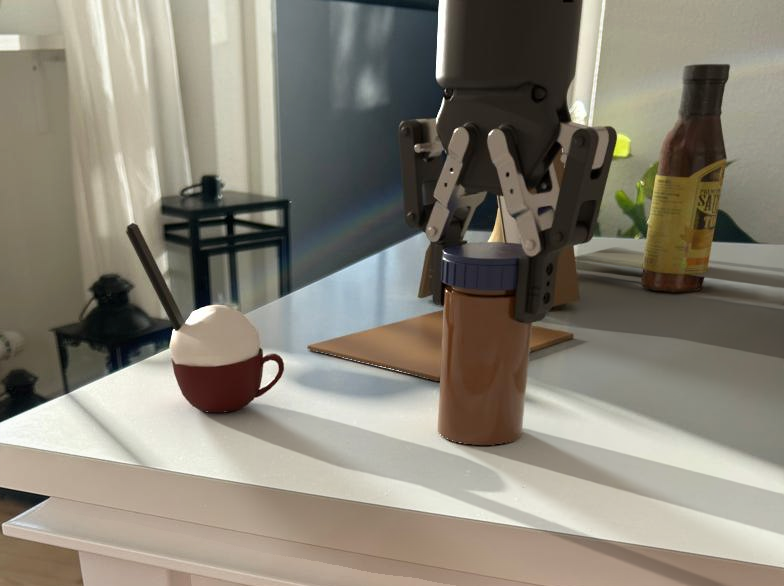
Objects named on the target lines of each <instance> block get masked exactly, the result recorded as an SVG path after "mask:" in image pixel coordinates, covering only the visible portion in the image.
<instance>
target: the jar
mask: <svg viewBox="0 0 784 586" xmlns="http://www.w3.org/2000/svg"><path fill="white" fill-rule="evenodd" d="M515 299H516V289H515V290H497V291H491V290H472V289H463V288H458V287H453V286H450V285H448V286H446V287H445V292H444V307H443V310H444V312H443V332H442V351H441V371H440V382H439V391H438V392H439V394H438V412H437V433H438V432H439V433H438V435H439V434H441V436H440V437H442V436H443V437H445V438H448V439H449V440H453V441H455V442H454V443H456V442H461V443H466V444H474V445H492V446H496V445H495V444H501V445H503V444H502V443H506V444H508V443H507V442H510V441H513V442H515V441H517V440H519V439H520V438H521V436H522V434H523V425H524V416H525V414H524V413H525V406H526V405H525V403H526V394H527V383H528V371H529V362H530V361H529V360H530V352H529V351H530V341H531V330H532V326H533V323H529V324H526V323H521V322H517V321H515V318H514V311H515ZM443 437H442V438H443ZM445 438H444V439H445ZM449 440H448V441H449ZM510 443H511V442H510ZM474 445H473V446H474Z"/></svg>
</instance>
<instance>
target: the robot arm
mask: <svg viewBox="0 0 784 586" xmlns="http://www.w3.org/2000/svg"><path fill="white" fill-rule="evenodd" d="M438 1H439V2H438V19H437V20H438V21H437V43H436V64H435V65H436V67H435V68H436V69H435V79H436V82H437V83H438V85H439V86H440V87H441V88H442V90H443V98H442V102H441V105H440V109H439V111H438V113H437V117H431V118H416V119H405V120H402V121H400V124H399V126H398V131H397V133H398V146H399V157H400V158H399V159H400V160H399V161H400V171H401V174H400V175H401V186H402V199H403V212H404V213H403V214H404V222H405V224H406V225H407V227H408V228H417V229H419V230H420V231H421V232H423V233H424V234H425V236H426V238H427V239H428V241H429V245H430V244H431V249H430V272H429V275H430V277H429V288H430V293H431V294H432V295H431V296H432V303H433V304H434V305H435V306H439V307H443V308H444V292H445V287H446V286H448V285H447V284H445V283H443V282H442V281H441V278H440V274H441V257H443V249H444V248H446V247H448V246H452V245H457V244H463V243H468V240H465V239H463V240H461V237H462V236H464V237H465V235H466V233H467V230H468V228H469V226H470V223H471V221H472V218H473V216H474V213H475V211H476V209H477V207H478V206H480V205H481V204H482V203H483V202H484V201H485V200H486V196H487V194H488V193H490V194H493V195H494V196H496V197H497V196H504V200H505V203H506V207H507V211H508V213H509V215H510V216H511V217H513V218H514V219H515V220H516V224H517V228H518V232H519V236H520V239H521V243H522V247H523V251H524V253H525V254H526V255H525V256H520V257H519V264H518V276H517V288H516V299H515V311H514V318H515V321H517V322H521V323H526V324H529V323H532V324H533V323H535V322H540V321H543V319H545V318H546V315H547V312H550V311H551V309H552V308H553V307H552V305H553V303H554V291H555V283H556V274H557V264H558V257H559V255H560V253H561V252H562V251H563V250H564V249H565V248H568V247H571V246H574V247H575V246H578V245H582V244H587V243H589V242H591V241H592V239H593V237H594V233H595V231H596V228H597V222H598V218H599V214H600V210H601V207H602V202H603V198H604V193H605V190H606V185H607V182H608V178H609V174H610V169H611V165H612V162H613V157H614V154H615V151H616V150H615V149H616V146H617V143H618V142H617V141H618V134H617V133H618V132H617V130H616V129H615V128H614V127H613V126H610V125H604V126H602V125H599V126H598V125H597V126H589V125H585V124H582V123H578V122H574V121H573V120H572V116H571V113H570V109H569V105H568V93H569V89H570V86H571V84H572V82H573V80H574V79H575V76H576V72H577V71H576V69H577V62H578V61H577V59H578V49H579V42H580V41H579V40H580V31H581V21H582V10H583V1H584V0H438ZM561 149H562V152H563V154H562V155H561V156H560V161H561V163H563V164H564V173H563V177H562V182H561V186H560V189H559V185H558V181H557V177H556V172H555V168H554V164H553V161H554V159H555V158H556V156H557V155H558V153H559V152H560V150H561ZM443 151H444V153H445V155H446V158H445V159H446V160H445V162H444V164H443ZM423 187H424V195H423ZM533 188H535V190H536V194H530V193H529V191H531V190H532V189H533ZM424 202H425V204H424Z"/></svg>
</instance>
